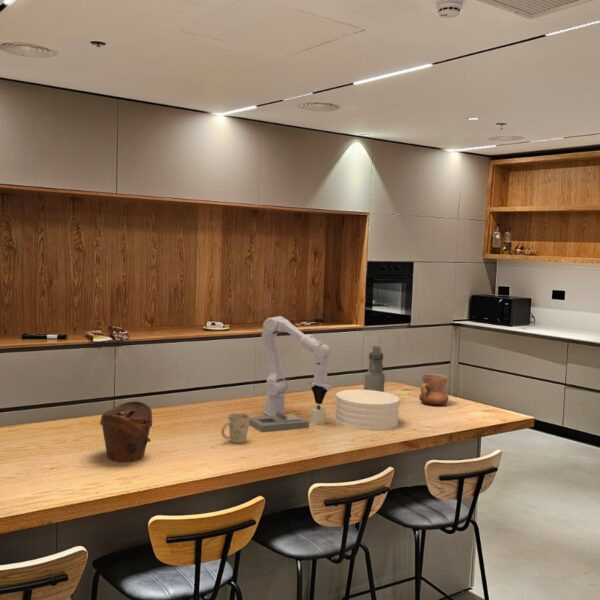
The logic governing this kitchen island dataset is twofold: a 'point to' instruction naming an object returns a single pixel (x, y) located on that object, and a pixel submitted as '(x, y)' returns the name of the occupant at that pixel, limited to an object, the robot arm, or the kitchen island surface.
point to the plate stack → (367, 409)
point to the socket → (276, 423)
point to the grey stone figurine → (375, 371)
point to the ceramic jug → (433, 389)
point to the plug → (318, 415)
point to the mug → (237, 427)
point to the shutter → (287, 417)
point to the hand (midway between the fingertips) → (318, 403)
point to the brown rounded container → (126, 430)
